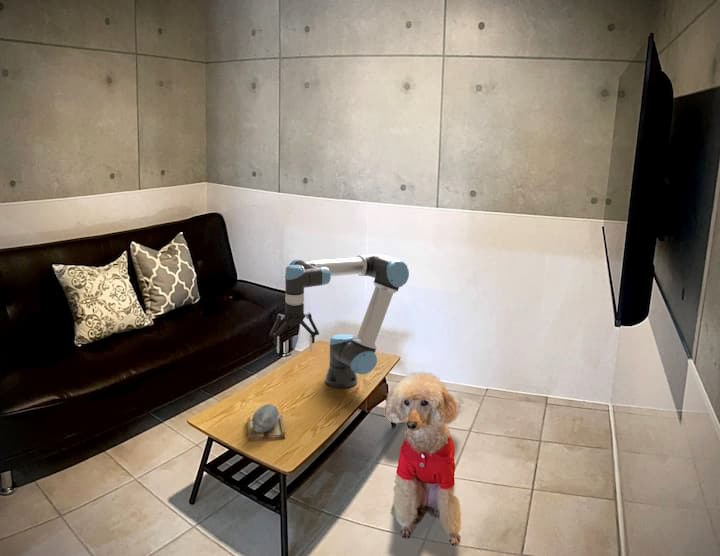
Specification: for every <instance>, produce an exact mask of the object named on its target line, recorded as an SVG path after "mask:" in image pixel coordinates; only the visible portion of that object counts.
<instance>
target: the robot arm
mask: <svg viewBox="0 0 720 556" xmlns="http://www.w3.org/2000/svg"><path fill="white" fill-rule="evenodd" d="M351 275H352V276H353V275H358V276H360V277H364V276H365V277H371V278H373V279H374V280H373V284H374V286H375V287H374V290H373V293H372V295H371V298H370V300H369V302H368V303H369V304H368V307H367V308H366V312H365V314H364V316H363V319H362V323H361V326H360V327H359V330H358V332H357V335H356V336H355V335H353V334H349V333H339V334H335V335H332V336H331V337H330V339H329V366H328V369H327V372H326V374H325V377H324V378H325V380H324V381H325V383H326V384H327V385H328V386H330V387H333V388H335V389H347V388H352V387H354V386H356V384H357V382H358V376H357V374H358V375H361V376H362V375H367V374H369V373H371V372H372V371H373V370H374V369H375V367H376V365H377V363H378V358H377V354H376V350H377V345H376V341H377V338H378V336H379V333H380V330H381V329H382V325H383V322H384V319H385V317H386V314H387V312H388V308H389V307H390V306H389V305H390V304H391V301H392V298H393V295H394V294H395V293H398V291H399V289H400V288H402V287H403V286H404V285H406V284H407V282H408V280H409V276H410V270H409V268H408V264H406V263H405V262H404V261H402V260H400V259H398V258H396V257H392V256H389V255H385V254H383V253H369V254H359V255H357V256H356V257H347V258H333V259H332V258H331V259H318V260H317V259H316V260H303V259H302V260H301V259H293V260H292V261H291V262H290V263H289V265H288V266H286V267H285V274H284V279H285V280H284V282H285V283H284V284H285V290H284V291H285V297H284V298H285V299H284V300H285V306H284V307H285V311H284V314H281V313H277V317H276V320H275V321H274V324H273V326H272V328H271V330H270V332H269V337H270V338H273V344H274V346H276V353H277V354H280V335H281V334H282V333H283V332H284V331H285V329H286V328H287V327H288V326H289V325H290V326H294V325H295V326H298V325H301V326H302V327H303V328H304V329H305V330H306V331H307V332H308V333H309V335H308V336H309V338H308V339H309V340H308V341H309V342H308V344H309V348H308V349H309V352H310V353H312V352H313V344H315V338H316V336H319V335H320V332H319V329H318V327H317V326H316V324H315V322H314V320H313V318H312V314H311V312H308V313H305V304H304V302H305V289H306V288H312V287H319V286H325V285H328V284H330V281H331V279H332V278H331V277H339V276H351ZM305 318H306V319H307V320H309V321H308V322H309V323H310V325H311V326H312V328H313V330H312V329H311V328H310V327H309V326H308V325H307V323H306V322H305V321H304V320H305ZM283 319H284V320H285V321H284V322H283V324H282V325H281V326H280V327H279V328H278V326H279V325H280V323H281V322H282V320H283Z"/></svg>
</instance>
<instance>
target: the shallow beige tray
mask: <svg viewBox="0 0 720 556" xmlns="http://www.w3.org/2000/svg"><path fill="white" fill-rule="evenodd" d="M246 419H247V421H246V423H247V438H248V442H255V441H267V440H270V441H271V440H281V439H285V438H286V436H285V435H286V433H285V427H284V421H283V415H282V414H281V415H279V416H278V421H277V423H276V425H275V426H274V427H273V428H272V429H271V430H269V431H267V432H264V433H258V432H256V431H255V430H254V429H253V425H252V420H253V419H251V418H250V417H249V416H248V417H246Z"/></svg>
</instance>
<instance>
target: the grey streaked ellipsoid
mask: <svg viewBox="0 0 720 556" xmlns="http://www.w3.org/2000/svg"><path fill="white" fill-rule="evenodd" d="M278 418H279V410H278V408H277V406H275V405H273V404H271V403H269V404H268V403H267V404H264V405H263V406H261V407H259V408H257V410H256V411H255V412H254V414H253V416H252V419H251V420H252V425H253V429H254V430H255V431H256V432H258V433H264V432H267V431H269V430H271V429H272V428H273V427H274V426H275V425H276V423H277V421H278Z"/></svg>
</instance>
